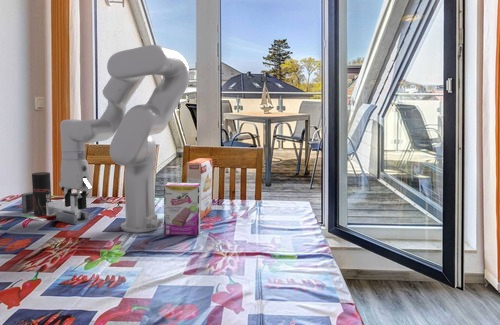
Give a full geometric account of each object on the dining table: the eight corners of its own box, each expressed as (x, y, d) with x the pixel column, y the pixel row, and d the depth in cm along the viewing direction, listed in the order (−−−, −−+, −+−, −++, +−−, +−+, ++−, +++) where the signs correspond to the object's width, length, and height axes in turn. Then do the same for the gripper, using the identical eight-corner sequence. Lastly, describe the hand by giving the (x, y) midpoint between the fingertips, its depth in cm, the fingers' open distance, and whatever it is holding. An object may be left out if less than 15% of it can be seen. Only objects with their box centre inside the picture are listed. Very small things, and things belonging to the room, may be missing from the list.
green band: (62, 210, 158) (62, 210, 158) (30, 218, 147) (30, 218, 147) (52, 208, 161) (52, 207, 161) (20, 216, 150) (20, 215, 150)
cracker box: (201, 221, 149) (201, 163, 146) (185, 219, 150) (185, 162, 147) (212, 211, 162) (213, 158, 159) (197, 210, 163) (198, 157, 160)
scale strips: (73, 212, 156) (73, 212, 156) (41, 221, 144) (41, 220, 144) (62, 210, 158) (62, 210, 158) (30, 218, 147) (30, 218, 147)
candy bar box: (163, 236, 131) (163, 185, 129) (166, 231, 136) (166, 182, 134) (199, 236, 132) (199, 185, 129) (200, 231, 137) (200, 182, 134)
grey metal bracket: (90, 220, 147) (90, 212, 146) (75, 224, 141) (75, 216, 141) (71, 216, 151) (71, 208, 151) (55, 220, 146) (55, 212, 145)
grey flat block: (41, 209, 159) (40, 191, 158) (26, 213, 154) (25, 194, 153) (37, 208, 160) (36, 191, 159) (22, 212, 155) (21, 193, 154)
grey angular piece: (85, 217, 148) (84, 192, 146) (70, 221, 142) (69, 195, 141) (61, 212, 153) (60, 188, 152) (46, 215, 148) (45, 191, 147)
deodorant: (46, 215, 151) (44, 175, 149) (30, 215, 151) (28, 174, 149) (55, 211, 157) (53, 172, 155) (39, 211, 157) (37, 171, 155)
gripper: (100, 156, 142) (101, 208, 144) (66, 152, 150) (68, 202, 152) (82, 159, 135) (84, 213, 138) (47, 155, 143) (49, 206, 146)
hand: (75, 206), depth 145 cm, fingers open, 5 cm apart
